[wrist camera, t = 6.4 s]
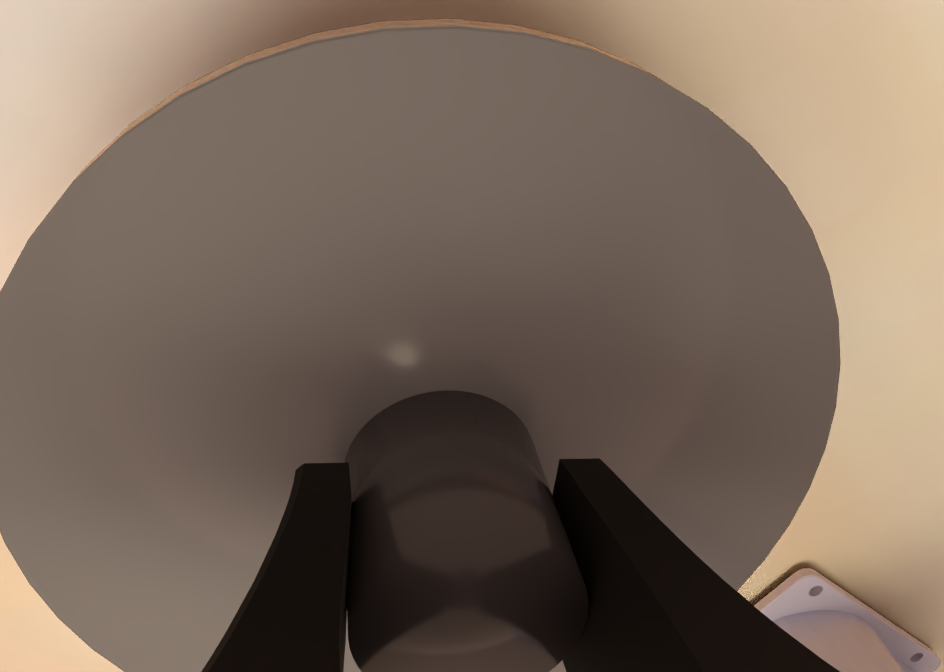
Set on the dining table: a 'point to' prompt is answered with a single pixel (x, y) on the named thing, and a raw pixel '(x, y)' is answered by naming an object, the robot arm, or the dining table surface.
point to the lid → (405, 343)
